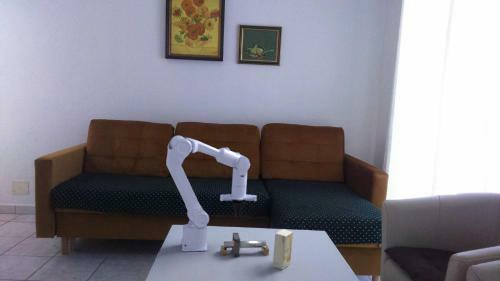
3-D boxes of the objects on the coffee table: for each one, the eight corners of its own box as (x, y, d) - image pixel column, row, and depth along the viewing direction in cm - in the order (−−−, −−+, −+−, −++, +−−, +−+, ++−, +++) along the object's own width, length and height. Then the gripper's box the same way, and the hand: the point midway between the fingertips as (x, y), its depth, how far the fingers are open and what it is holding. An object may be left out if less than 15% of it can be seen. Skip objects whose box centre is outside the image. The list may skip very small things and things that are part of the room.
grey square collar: (233, 256, 129) (234, 239, 128) (231, 249, 135) (232, 232, 134) (239, 256, 129) (240, 239, 129) (237, 249, 136) (237, 232, 135)
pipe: (221, 255, 129) (222, 243, 129) (220, 251, 133) (221, 238, 133) (268, 255, 133) (269, 242, 132) (266, 250, 136) (267, 238, 136)
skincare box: (283, 270, 121) (285, 236, 120) (272, 266, 124) (274, 233, 122) (290, 263, 127) (293, 231, 125) (280, 260, 129) (282, 228, 128)
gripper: (222, 187, 134) (220, 221, 136) (259, 187, 137) (256, 221, 138) (220, 182, 141) (218, 215, 143) (255, 183, 144) (253, 215, 145)
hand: (237, 217), depth 141 cm, fingers closed
